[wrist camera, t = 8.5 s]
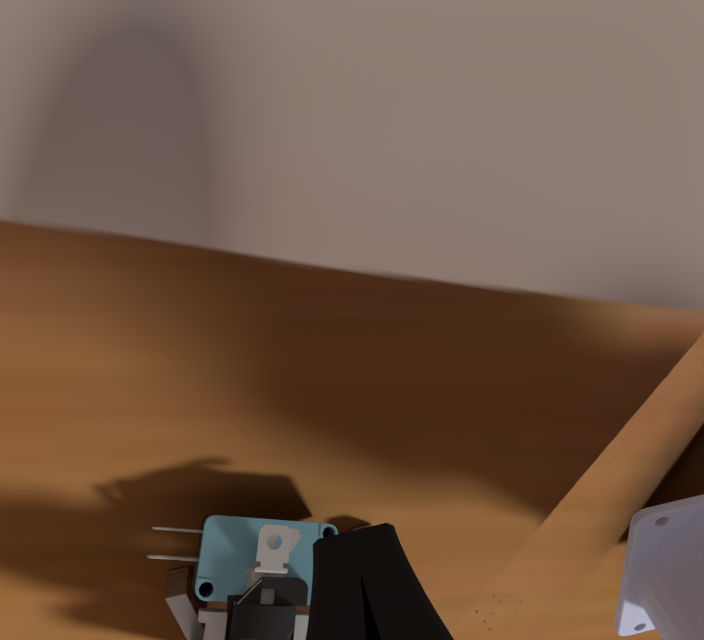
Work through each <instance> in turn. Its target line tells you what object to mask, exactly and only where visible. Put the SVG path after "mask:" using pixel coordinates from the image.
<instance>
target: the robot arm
mask: <svg viewBox="0 0 704 640" xmlns="http://www.w3.org/2000/svg"><path fill="white" fill-rule="evenodd" d="M614 628H615V630H616V631H617V633H618V634H619V635H621V636H628V635H632V634H636V633H640V632H644V631H648V630H652V629H656V630H657V632H658V633H659V635H660V637H661V638H662V640H704V494H703V495H698V496H694V497H690V498H686V499H682V500H677V501H673V502H669V503H665V504H660V505H656V506H652V507H648V508H644V509H641V510H639V511H637V512H636V513H635V514H634V515H633V516H632V519H631V523H630V529H629V535H628V541H627V547H626V553H625V559H624V565H623V571H622V577H621V584H620V590H619V596H618V602H617V608H616V614H615V620H614ZM306 640H454V639H453V638H452V636H451V634H450V633H449V631H448V630H447V628H446V626H445V625H444V623H443V622H442V620H441V619H440V617H439V615H438V614H437V612H436V611H435V609H434V607H433V605H432V604H431V602H430V600H429V599H428V597H427V595H426V593H425V592H424V590H423V588H422V586H421V584H420V582H419V581H418V579H417V577H416V575H415V573H414V571H413V569H412V567H411V565H410V563H409V561H408V559H407V557H406V555H405V553H404V551H403V548H402V546H401V544H400V542H399V539H398V537H397V534H396V531H395V528H394V526H393V525H391V524H388V523H384V524H380V525H375V526H371V527H367V528H362V529H358V530H354V531H349V532H345V533H341V534H337V535H332V536H328V537H324V538H319V539H317V540H316V541H315V543H314V544H313V576H312V591H311V601H310V610H309V619H308V627H307V633H306Z"/></svg>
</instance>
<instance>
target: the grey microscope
mask: <svg viewBox="0 0 704 640" xmlns="http://www.w3.org/2000/svg"><path fill="white" fill-rule="evenodd" d="M152 529H155V530H169V531H183V532H196V533H200V535H199V542H198V549H197V552H196V557H191V556H169V555H152V554H148V556H147V558H151V559H169V560H181V561H195V565H194V572H193V579H192V587H193V590H194V591H195V593H196V595H197V596H198V598H199V599H200V600H203V601H221V602H227V610H226V612H225V611H224V609H219V608H200V609H199V613H198V622H201V623H205V630H204V638H203V640H224V637H225V640H306V633H307V627H308V619H309V612H299V611H296V608H297V606H307V605H310V601H311V591H312V576H313V544H314V543H315V541H316V540H317V539H319V538H324V537H328V536H332V535H337V534H338V530H337V528H336V527H335V526H334V525H332V524H326V523H313V522H300V521H287V520H274V519H261V518H248V517H235V516H222V515H208V516H206V517H204V519H203V520H202V523H201V528H200V530H198V529H183V528H169V527H154V526H152ZM226 621H227V624H226ZM225 629H226V632H225Z"/></svg>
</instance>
